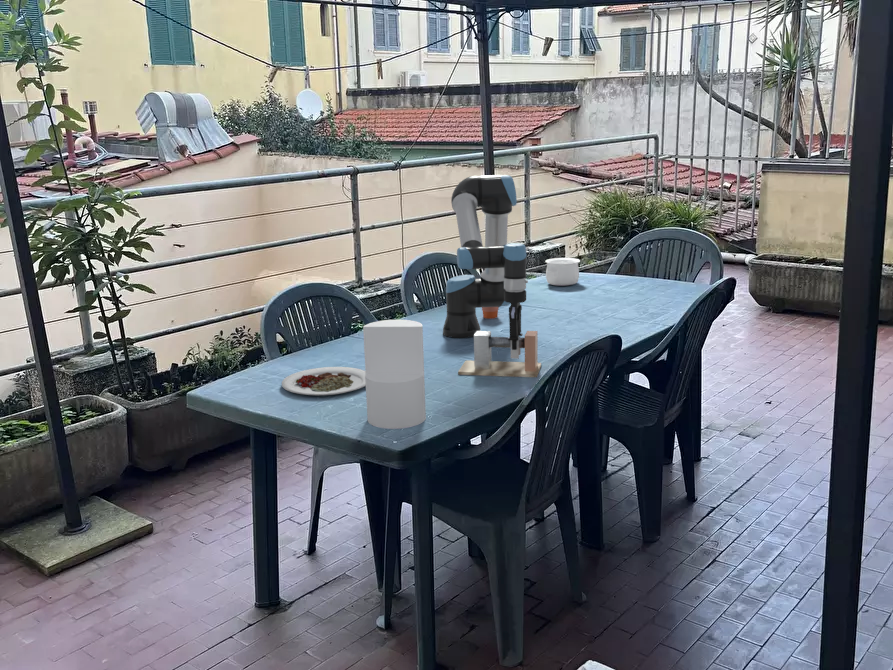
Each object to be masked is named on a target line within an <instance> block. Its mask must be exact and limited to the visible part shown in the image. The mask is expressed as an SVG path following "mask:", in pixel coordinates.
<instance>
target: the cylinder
mask: <svg viewBox="0 0 893 670" xmlns="http://www.w3.org/2000/svg"><path fill="white" fill-rule="evenodd" d="M362 328H363V329H362V332H363V347H364V348H363V350H364V353H363V354H364V368H365V369H364V371H365V372H366V374H365V381H366V386H365V395H366V397H365V398H366V400H365V401H366V415H367V416H366V417H367V423H369V425H371V426H373V427H377V428H379V429H389V430H399V429H400V430H402V429H407V428H411V427H415V426H418V425H420V424H422V423H424V422H425V420H426V419H427V418H426V417H427V415H426V414H427V413H426V411H427V410H426V388H425V387H426V384H425V383H426V382H425V361H424V360H425V359H424V355H425V354H424V334H423V332H424V330H423V328H424V327H423V324H422V323H421V322H419V321H416V320H409V319H385V320H384V319H383V320H377V321H373V322H370V323H367V324H365V325H363V327H362Z"/></svg>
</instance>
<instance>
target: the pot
mask: <svg viewBox="0 0 893 670" xmlns="http://www.w3.org/2000/svg"><path fill="white" fill-rule="evenodd" d="M580 262H581V260H580V259H579V258H573V257H555V258H549V259H546V260H545V263H546V264H547V265H546V269H545V270H546V271H545V279H546V282H547V284H549V285H553V286H572V285H576V284H577V283H578V282H579V278H580V271H579V268H580V267H579V263H580Z"/></svg>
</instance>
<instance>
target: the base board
mask: <svg viewBox="0 0 893 670" xmlns="http://www.w3.org/2000/svg"><path fill="white" fill-rule="evenodd" d="M541 368H542V362H538V366H537V369H536V371H525V361H523V362H522V361H497V360H496V361H493V360H492V365H491V366H490V368H489V369H475V368H474V360H470V359H469V360H467V359H466V360H465V361H464V362H463V364H462V365H461V367H460V368H459V369H458V372H457V375H460V376H461V375H463V376H487V377H489V376H490V377H493V376H494V377H513V378H515V377H516V378H538V375H539V373H540V370H541Z"/></svg>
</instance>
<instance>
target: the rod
mask: <svg viewBox="0 0 893 670" xmlns="http://www.w3.org/2000/svg"><path fill="white" fill-rule="evenodd" d="M509 338H510V336H507V337H506V336H491V337H489V347H491V348H504V349H505V348H506V349H507V348H509V349H511V340H508V339H509ZM518 340H519V348H520V349H525V337H521V336H520V337H518Z"/></svg>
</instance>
